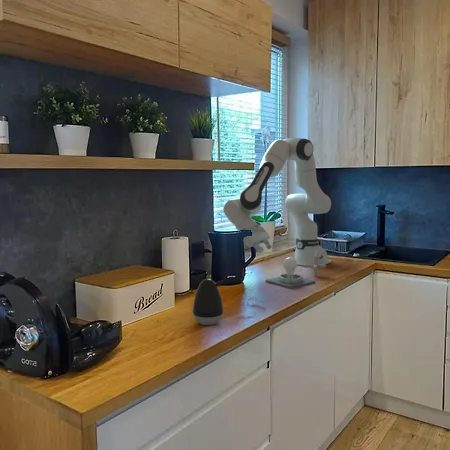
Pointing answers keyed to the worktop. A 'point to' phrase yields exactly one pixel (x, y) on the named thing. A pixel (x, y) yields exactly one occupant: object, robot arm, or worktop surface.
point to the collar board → (305, 282)
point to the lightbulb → (290, 266)
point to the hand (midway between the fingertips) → (266, 249)
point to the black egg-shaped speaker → (208, 303)
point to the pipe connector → (315, 265)
